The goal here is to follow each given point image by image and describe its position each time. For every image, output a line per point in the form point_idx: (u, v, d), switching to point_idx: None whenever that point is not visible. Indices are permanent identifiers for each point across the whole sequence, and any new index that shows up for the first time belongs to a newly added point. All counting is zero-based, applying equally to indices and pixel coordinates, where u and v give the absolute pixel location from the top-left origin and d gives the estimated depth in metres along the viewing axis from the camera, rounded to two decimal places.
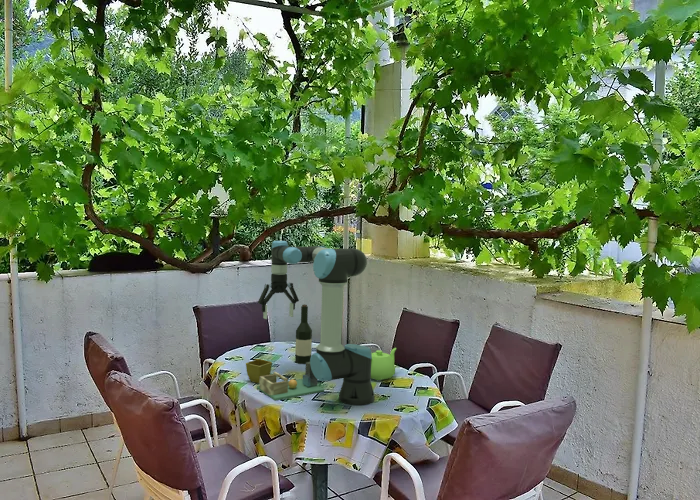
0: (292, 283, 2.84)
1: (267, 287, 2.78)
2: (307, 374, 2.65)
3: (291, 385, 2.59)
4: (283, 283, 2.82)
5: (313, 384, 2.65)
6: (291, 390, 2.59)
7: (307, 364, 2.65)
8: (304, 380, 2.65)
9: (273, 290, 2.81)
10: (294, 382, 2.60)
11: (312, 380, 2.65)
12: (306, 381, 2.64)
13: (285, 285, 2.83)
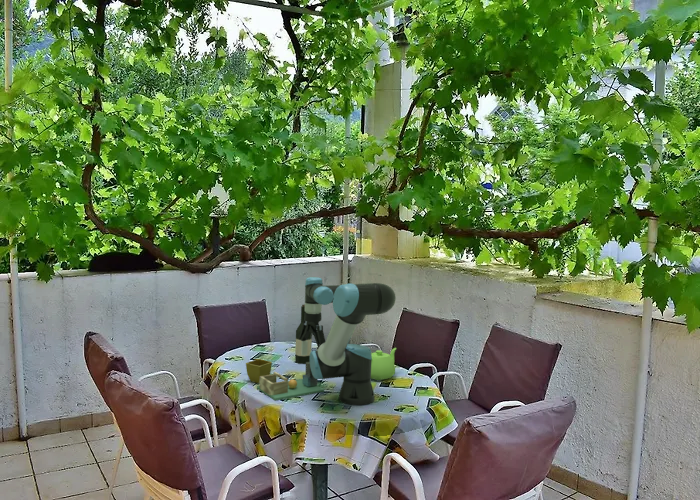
0: (317, 326, 2.58)
1: (303, 323, 2.69)
2: (307, 374, 2.65)
3: (291, 385, 2.59)
4: (312, 323, 2.62)
5: (313, 384, 2.65)
6: (291, 390, 2.59)
7: (307, 364, 2.65)
8: (304, 380, 2.65)
9: None
10: (294, 382, 2.60)
11: (312, 380, 2.65)
12: (306, 381, 2.64)
13: (313, 326, 2.62)
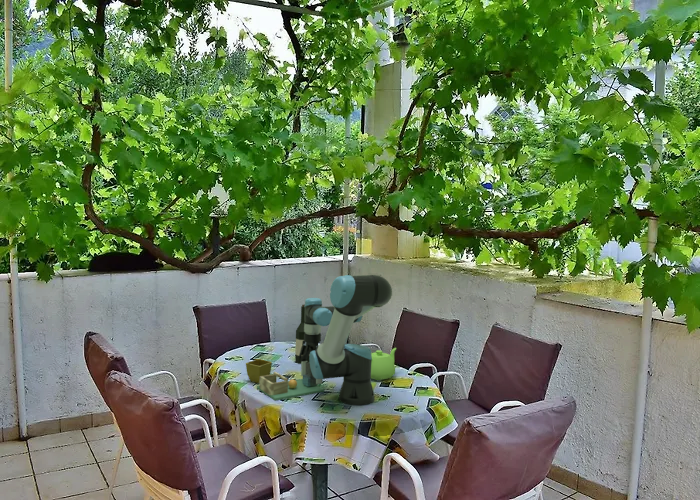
0: (317, 347, 2.59)
1: (302, 343, 2.70)
2: (307, 374, 2.65)
3: (291, 385, 2.59)
4: (312, 344, 2.63)
5: (313, 384, 2.65)
6: (291, 390, 2.59)
7: (307, 364, 2.65)
8: (304, 380, 2.65)
9: None
10: (294, 382, 2.60)
11: (312, 380, 2.65)
12: (306, 381, 2.64)
13: (313, 347, 2.62)
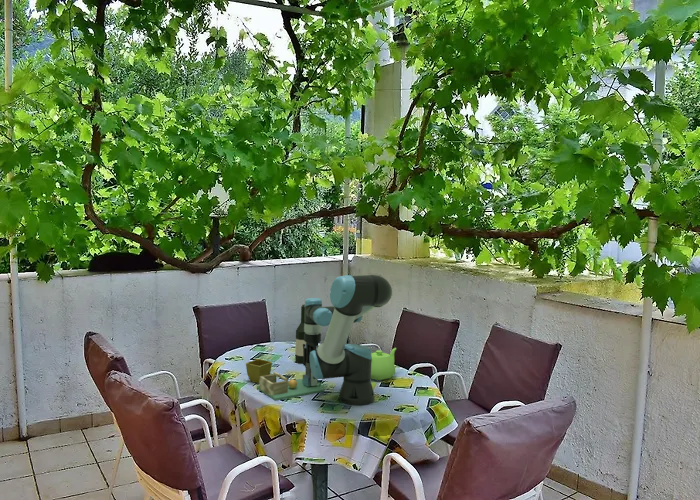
0: (317, 351, 2.59)
1: (303, 347, 2.70)
2: (307, 374, 2.65)
3: (291, 385, 2.59)
4: (312, 343, 2.62)
5: None
6: (291, 390, 2.59)
7: (307, 364, 2.65)
8: (304, 380, 2.65)
9: None
10: (294, 382, 2.60)
11: None
12: (306, 381, 2.64)
13: (313, 347, 2.62)
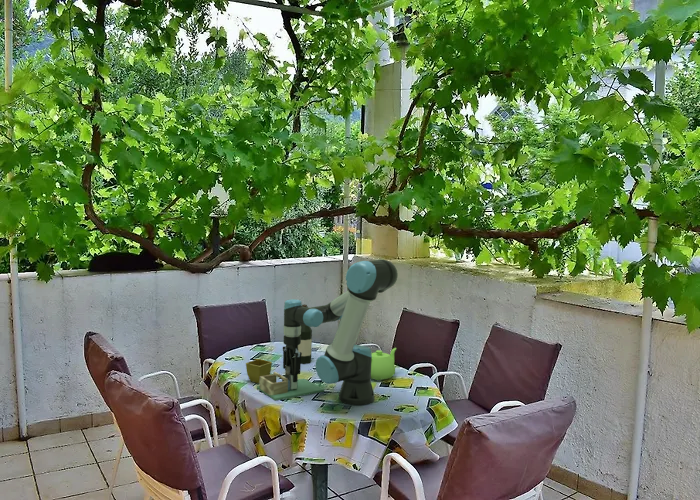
0: (296, 353, 2.54)
1: (283, 349, 2.64)
2: (287, 377, 2.60)
3: None
4: (292, 346, 2.57)
5: None
6: (291, 390, 2.59)
7: (287, 367, 2.60)
8: None
9: (289, 353, 2.61)
10: None
11: None
12: None
13: (292, 349, 2.57)
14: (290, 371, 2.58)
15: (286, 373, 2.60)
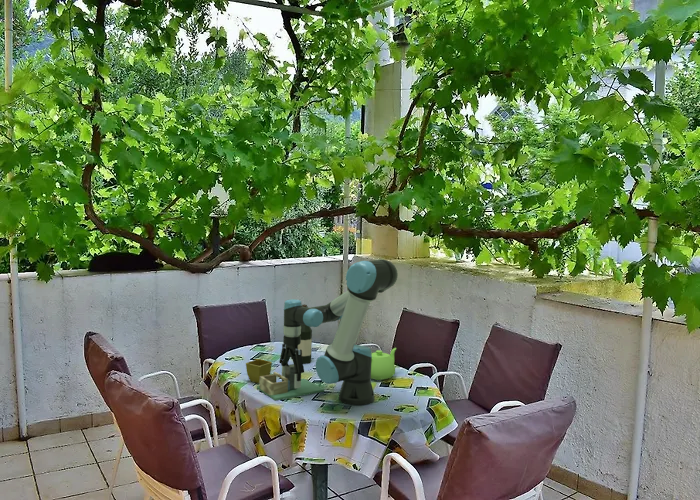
0: (296, 350, 2.53)
1: (282, 347, 2.64)
2: (287, 377, 2.60)
3: None
4: (291, 346, 2.57)
5: (293, 387, 2.59)
6: (291, 390, 2.59)
7: (287, 367, 2.60)
8: None
9: None
10: None
11: (292, 383, 2.59)
12: None
13: (292, 349, 2.57)
14: (290, 371, 2.58)
15: (286, 373, 2.60)
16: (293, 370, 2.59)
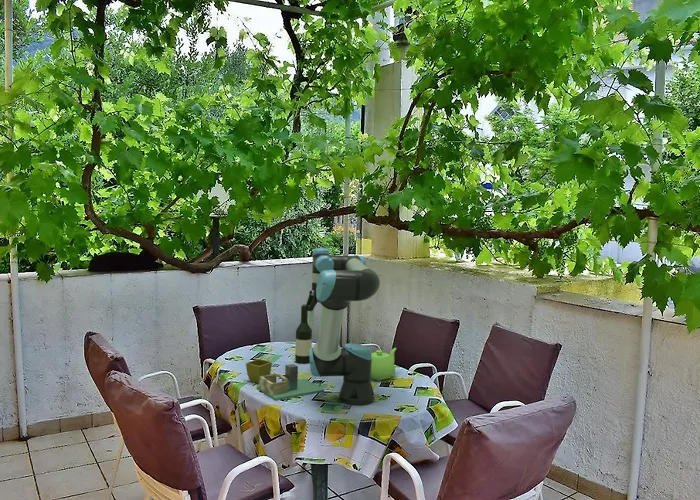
0: None
1: (309, 293, 2.77)
2: (287, 377, 2.60)
3: None
4: None
5: (293, 387, 2.59)
6: (291, 390, 2.59)
7: (287, 367, 2.60)
8: None
9: None
10: None
11: (292, 383, 2.59)
12: None
13: None
14: (290, 371, 2.58)
15: (286, 373, 2.60)
16: (293, 370, 2.59)
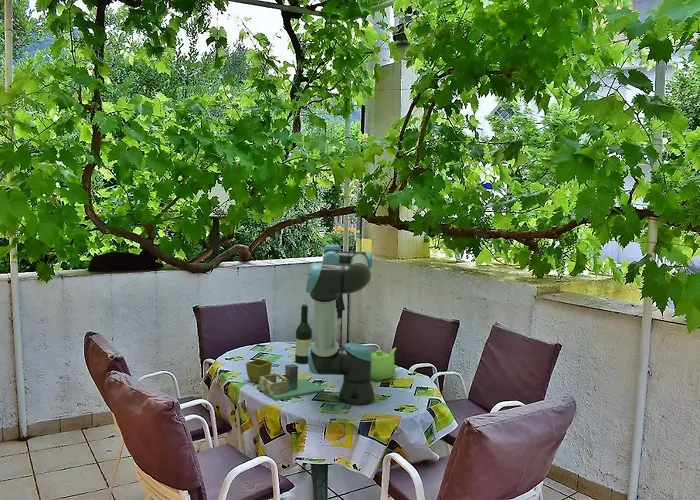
0: None
1: None
2: (287, 377, 2.60)
3: None
4: None
5: (293, 387, 2.59)
6: (291, 390, 2.59)
7: (287, 367, 2.60)
8: None
9: None
10: None
11: (292, 383, 2.59)
12: None
13: None
14: (290, 371, 2.58)
15: (286, 373, 2.60)
16: (293, 370, 2.59)
